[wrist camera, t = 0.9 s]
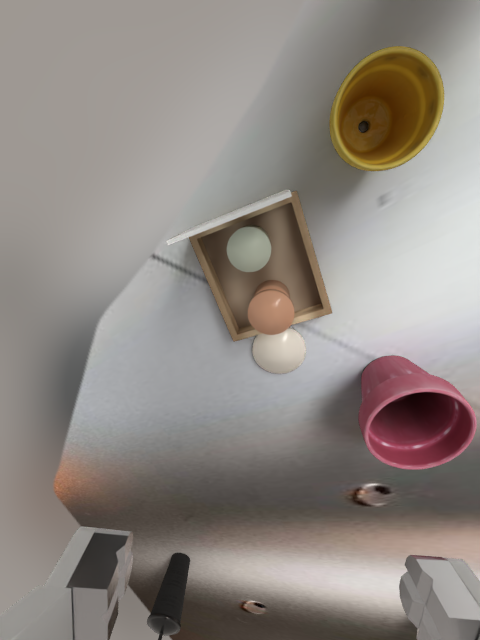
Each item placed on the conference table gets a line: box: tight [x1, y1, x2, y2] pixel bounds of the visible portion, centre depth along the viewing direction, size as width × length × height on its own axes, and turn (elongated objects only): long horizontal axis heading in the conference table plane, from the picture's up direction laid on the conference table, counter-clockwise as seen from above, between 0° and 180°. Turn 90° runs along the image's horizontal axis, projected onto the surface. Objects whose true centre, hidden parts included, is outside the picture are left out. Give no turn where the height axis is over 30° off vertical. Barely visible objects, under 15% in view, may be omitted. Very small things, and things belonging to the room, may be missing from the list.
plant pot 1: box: [329, 46, 444, 171], centre depth 35 cm, size 10×10×10 cm
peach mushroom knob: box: [248, 280, 294, 335], centre depth 46 cm, size 6×6×7 cm
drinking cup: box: [147, 553, 190, 640], centre depth 73 cm, size 8×8×20 cm
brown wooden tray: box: [189, 191, 332, 342], centre depth 47 cm, size 16×18×3 cm
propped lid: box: [166, 189, 292, 245], centre depth 37 cm, size 14×1×11 cm, turn 111°
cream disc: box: [252, 327, 306, 374], centre depth 53 cm, size 9×9×1 cm
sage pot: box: [227, 225, 271, 272], centre depth 43 cm, size 6×6×6 cm
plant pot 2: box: [358, 356, 476, 469], centre depth 47 cm, size 14×14×13 cm
